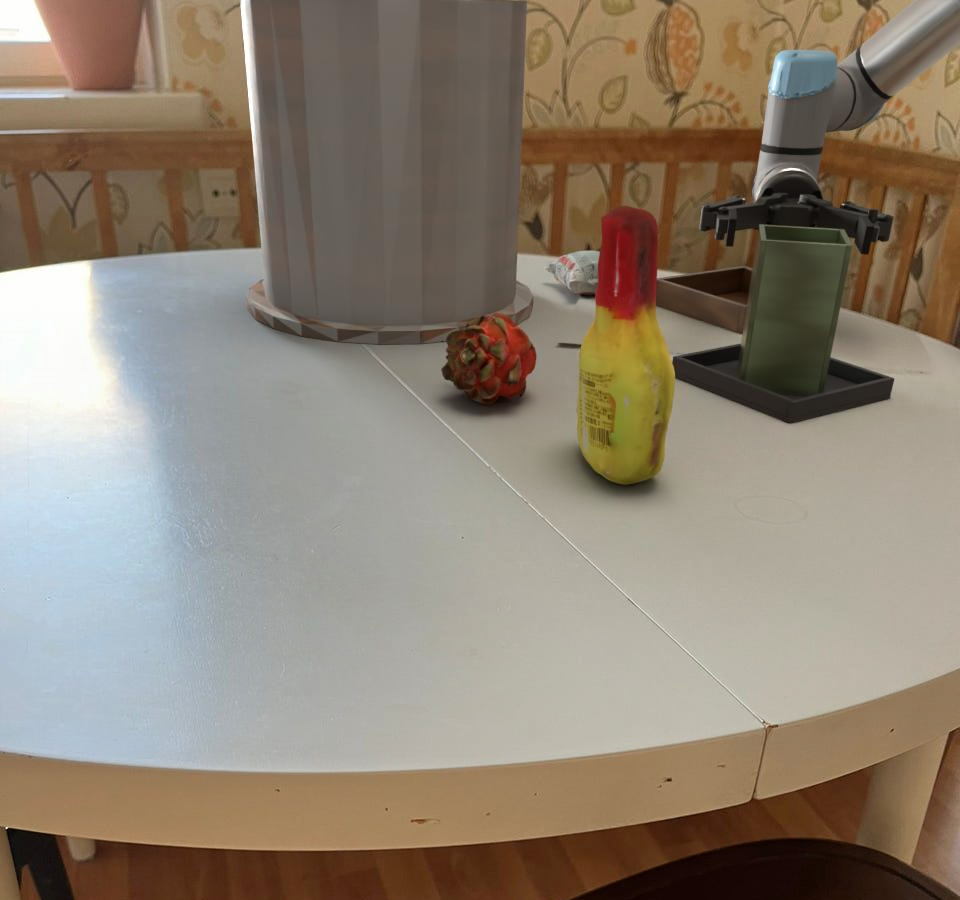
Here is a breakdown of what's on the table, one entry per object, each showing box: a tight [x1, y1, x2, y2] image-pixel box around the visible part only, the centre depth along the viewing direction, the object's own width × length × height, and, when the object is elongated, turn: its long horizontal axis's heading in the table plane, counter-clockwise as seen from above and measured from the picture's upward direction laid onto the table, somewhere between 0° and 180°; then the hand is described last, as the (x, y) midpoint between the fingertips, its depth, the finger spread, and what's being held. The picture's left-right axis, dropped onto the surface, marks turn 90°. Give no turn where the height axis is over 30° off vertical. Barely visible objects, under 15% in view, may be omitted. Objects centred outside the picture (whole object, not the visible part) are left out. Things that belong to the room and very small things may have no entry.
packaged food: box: [544, 250, 600, 296], centre depth 135 cm, size 9×12×5 cm
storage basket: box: [240, 0, 534, 345], centre depth 121 cm, size 35×35×32 cm
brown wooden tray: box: [656, 265, 753, 335], centre depth 128 cm, size 16×16×4 cm
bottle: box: [576, 205, 676, 486], centre depth 81 cm, size 12×6×20 cm, turn 13°
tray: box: [671, 342, 895, 424], centre depth 104 cm, size 16×14×2 cm
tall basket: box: [738, 224, 853, 396], centre depth 101 cm, size 8×8×14 cm
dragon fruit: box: [440, 313, 537, 406], centre depth 99 cm, size 8×8×12 cm
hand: (798, 236), depth 107 cm, fingers open, 13 cm apart
